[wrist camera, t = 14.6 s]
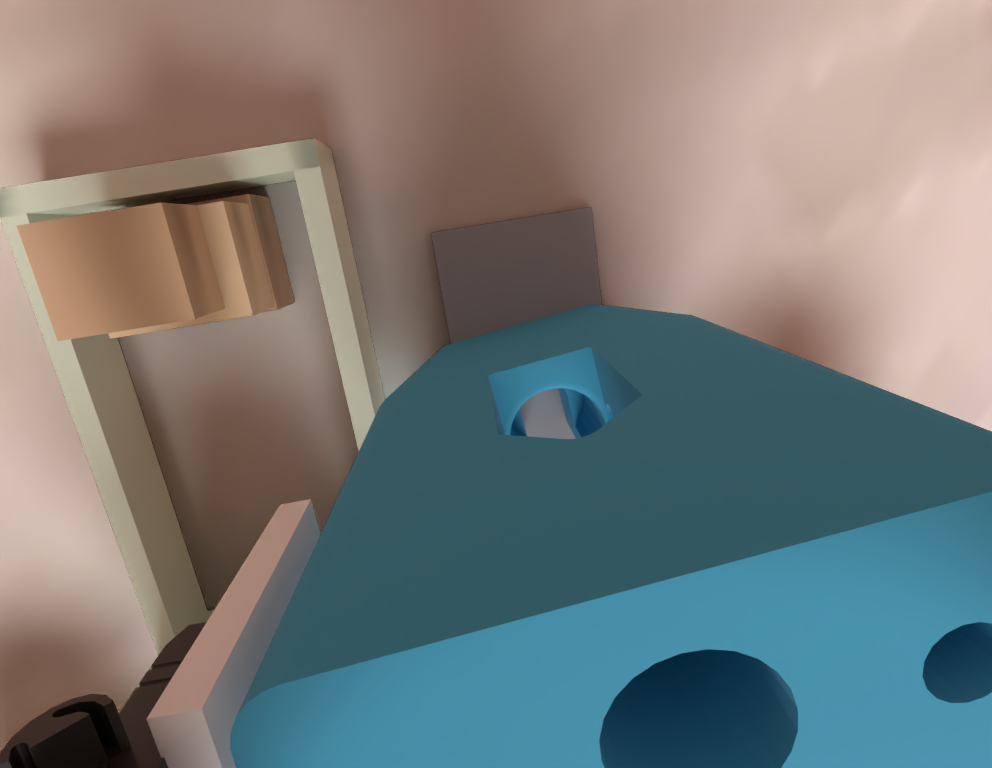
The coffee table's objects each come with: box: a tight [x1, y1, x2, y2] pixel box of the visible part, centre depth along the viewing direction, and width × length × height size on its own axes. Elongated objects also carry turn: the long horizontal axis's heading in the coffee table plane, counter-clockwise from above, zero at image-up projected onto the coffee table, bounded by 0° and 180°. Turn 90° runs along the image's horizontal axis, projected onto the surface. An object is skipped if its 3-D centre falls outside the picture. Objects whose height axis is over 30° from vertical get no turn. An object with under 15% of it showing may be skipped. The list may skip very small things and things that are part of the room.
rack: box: [0, 138, 385, 714], centre depth 20 cm, size 12×22×16 cm, turn 9°
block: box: [230, 304, 992, 768], centre depth 18 cm, size 12×5×20 cm, turn 105°
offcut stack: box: [17, 194, 295, 341], centre depth 22 cm, size 6×4×8 cm
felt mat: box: [431, 207, 602, 439], centre depth 28 cm, size 7×14×1 cm, turn 9°
